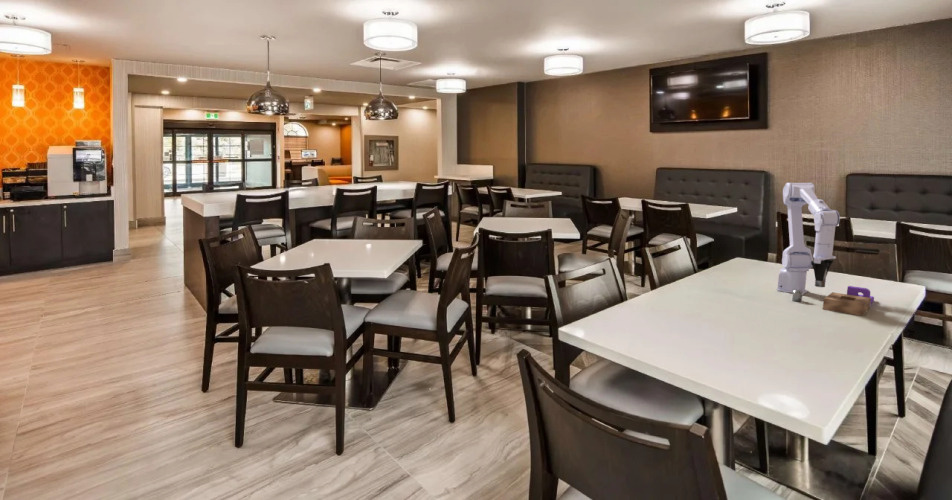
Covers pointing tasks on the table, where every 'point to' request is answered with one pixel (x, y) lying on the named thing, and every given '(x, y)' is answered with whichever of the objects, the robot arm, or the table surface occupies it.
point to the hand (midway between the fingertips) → (820, 279)
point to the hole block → (847, 303)
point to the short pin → (797, 295)
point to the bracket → (855, 290)
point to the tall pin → (821, 283)
